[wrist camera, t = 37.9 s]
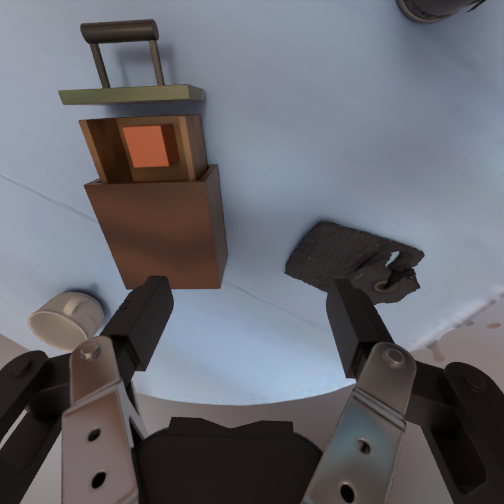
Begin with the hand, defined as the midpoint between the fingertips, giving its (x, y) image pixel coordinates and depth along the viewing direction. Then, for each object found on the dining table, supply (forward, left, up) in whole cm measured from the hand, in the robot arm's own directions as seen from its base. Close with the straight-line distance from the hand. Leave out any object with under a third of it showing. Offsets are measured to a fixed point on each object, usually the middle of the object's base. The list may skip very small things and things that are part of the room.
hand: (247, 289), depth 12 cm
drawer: (-2, -14, -26) cm, 29 cm away
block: (-1, -13, -25) cm, 28 cm away
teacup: (+34, -28, -27) cm, 52 cm away
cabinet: (+10, -10, -27) cm, 31 cm away
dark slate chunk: (+12, +21, -27) cm, 36 cm away
